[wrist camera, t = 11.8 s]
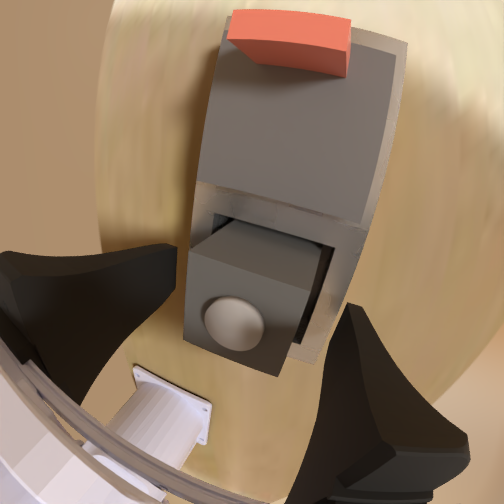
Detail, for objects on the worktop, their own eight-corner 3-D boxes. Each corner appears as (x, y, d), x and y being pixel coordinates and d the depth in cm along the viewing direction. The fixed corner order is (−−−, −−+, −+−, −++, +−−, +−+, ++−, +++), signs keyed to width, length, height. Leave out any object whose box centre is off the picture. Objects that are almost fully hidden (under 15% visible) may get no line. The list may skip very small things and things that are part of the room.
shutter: (359, 219, 9) (365, 250, 6) (204, 178, 10) (154, 192, 8) (393, 60, 6) (411, 25, 4) (230, 35, 8) (188, 4, 5)
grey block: (301, 308, 14) (275, 384, 9) (230, 284, 15) (178, 345, 10) (324, 238, 12) (308, 298, 7) (243, 214, 13) (182, 255, 8)
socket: (320, 335, 14) (313, 364, 12) (205, 296, 16) (184, 318, 14) (396, 61, 8) (407, 42, 6) (247, 35, 10) (227, 16, 8)
